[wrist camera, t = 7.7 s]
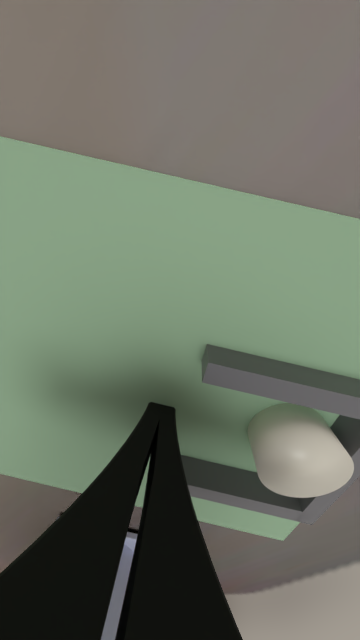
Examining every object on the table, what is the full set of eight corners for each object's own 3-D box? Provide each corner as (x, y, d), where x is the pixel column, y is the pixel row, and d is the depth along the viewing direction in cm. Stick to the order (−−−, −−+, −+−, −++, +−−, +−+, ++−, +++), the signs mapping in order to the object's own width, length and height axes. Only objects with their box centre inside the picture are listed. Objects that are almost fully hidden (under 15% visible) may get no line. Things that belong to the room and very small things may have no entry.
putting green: (281, 535, 15) (282, 540, 15) (-43, 458, 15) (-47, 462, 15) (526, 259, 7) (539, 260, 6) (-184, 96, 7) (-200, 90, 7)
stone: (305, 461, 11) (326, 504, 9) (238, 446, 11) (245, 487, 9) (340, 412, 10) (373, 453, 8) (262, 395, 10) (277, 432, 8)
